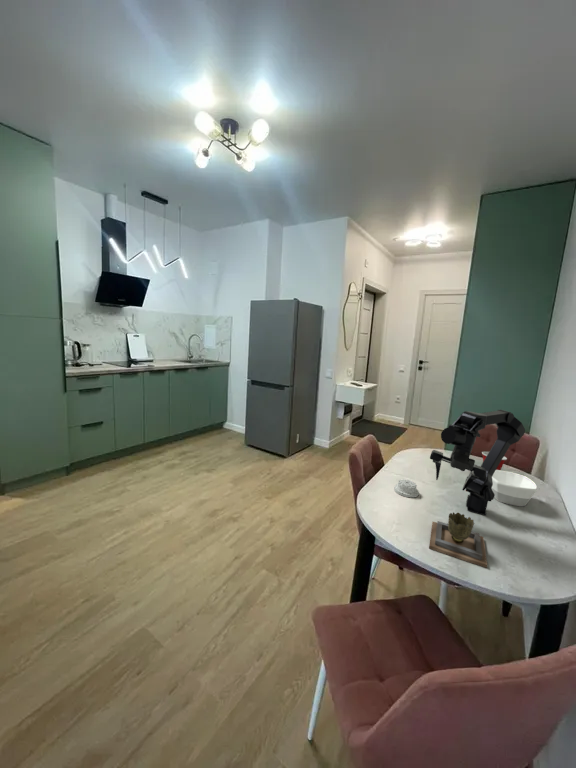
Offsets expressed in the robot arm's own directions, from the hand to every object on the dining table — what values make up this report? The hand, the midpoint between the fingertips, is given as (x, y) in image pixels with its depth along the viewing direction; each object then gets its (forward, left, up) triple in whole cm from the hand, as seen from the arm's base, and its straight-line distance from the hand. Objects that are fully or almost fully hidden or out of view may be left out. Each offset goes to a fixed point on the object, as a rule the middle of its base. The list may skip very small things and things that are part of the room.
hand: (449, 484), depth 125 cm
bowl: (-24, -33, -13) cm, 43 cm away
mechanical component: (+15, -11, -13) cm, 23 cm away
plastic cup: (-19, -55, -13) cm, 60 cm away
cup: (-4, +17, -12) cm, 21 cm away
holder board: (-4, +17, -12) cm, 22 cm away
